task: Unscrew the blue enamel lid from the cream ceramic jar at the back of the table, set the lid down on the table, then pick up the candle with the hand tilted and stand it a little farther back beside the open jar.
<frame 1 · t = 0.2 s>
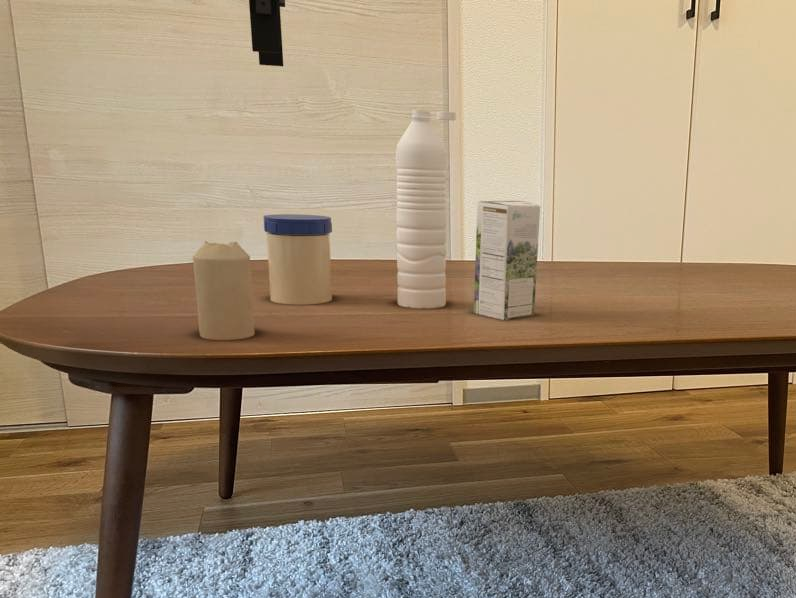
hand: (269, 59, 86), 29 cm above the table, tool pointing down, fingers open, 13 cm apart
lid: (297, 220, 102), point 11 cm above the table, screwed on, not yet turned
water bottle: (428, 306, 106), on the table
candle: (227, 338, 83), on the table
syrup box: (504, 317, 101), on the table
jar: (301, 300, 105), on the table
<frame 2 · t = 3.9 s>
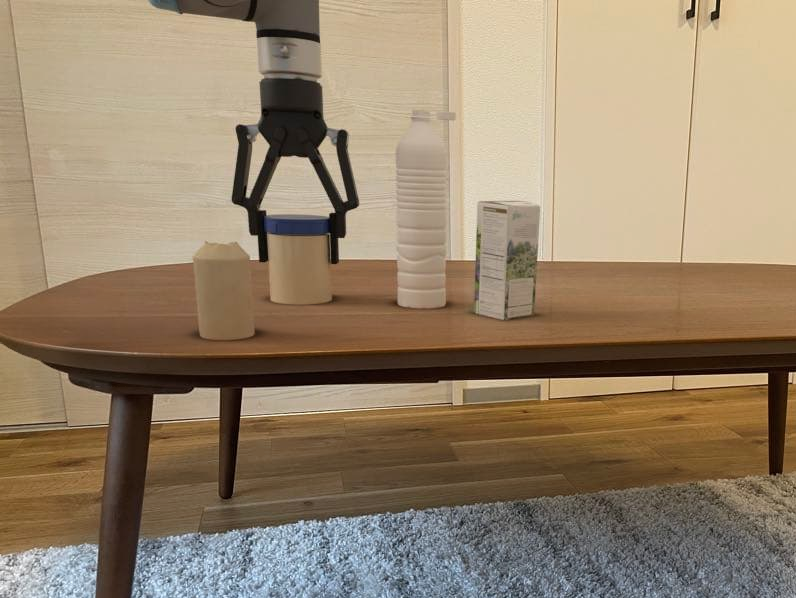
hand: (299, 261, 104), 5 cm above the table, tool pointing down, fingers closed on lid, 8 cm apart
lid: (297, 220, 102), point 11 cm above the table, screwed on, not yet turned, touching gripper
everything else where it was.
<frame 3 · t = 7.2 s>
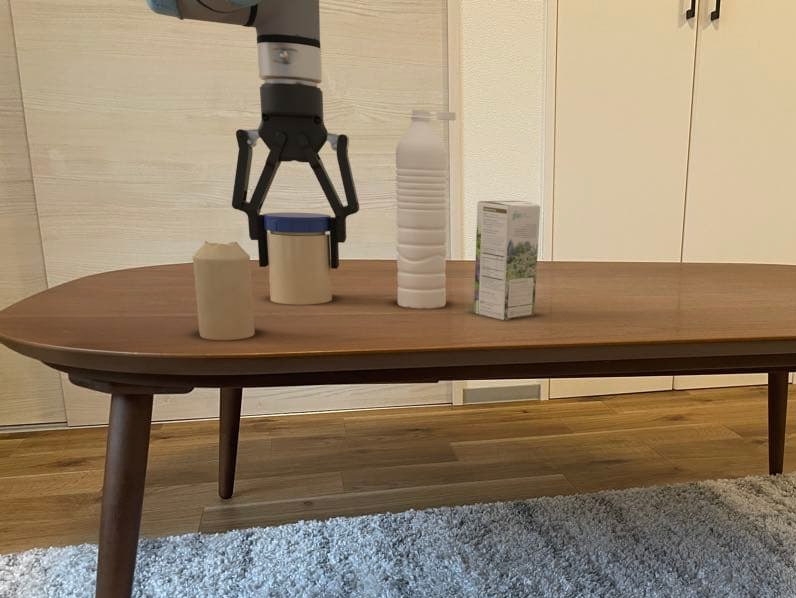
hand: (299, 266, 104), 5 cm above the table, tool pointing down, fingers closed on lid, 8 cm apart
lid: (297, 218, 102), point 11 cm above the table, turned 90° so far, risen 0.2 cm, still on its thread, touching gripper
everything else where it was.
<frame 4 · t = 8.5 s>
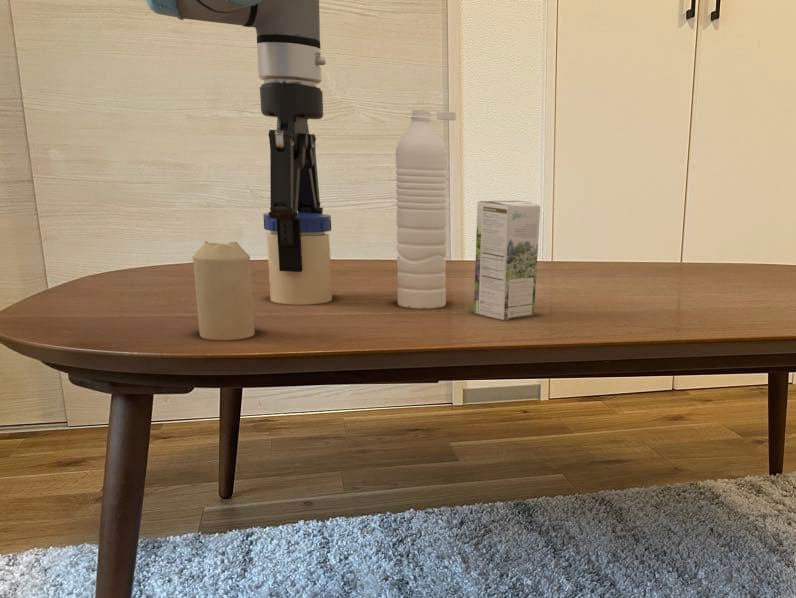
hand: (299, 266, 104), 5 cm above the table, tool pointing down, fingers closed on lid, 8 cm apart
lid: (297, 218, 102), point 11 cm above the table, off its thread, touching gripper
everything else where it was.
when the fingers open (2 cm above the table, at t = 15.5 s): lid drops 7 cm, point 1 cm above the table.
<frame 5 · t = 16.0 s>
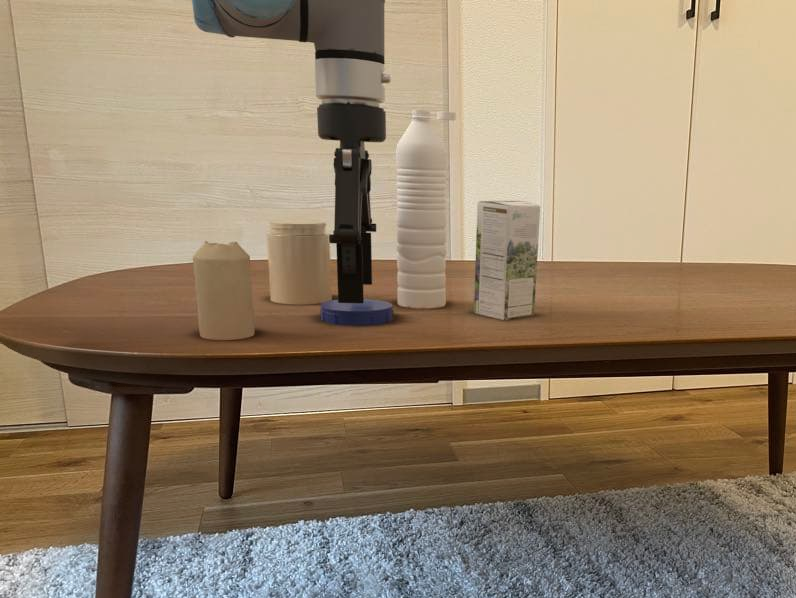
hand: (356, 293, 93), 3 cm above the table, tool pointing down, fingers open, 13 cm apart
lid: (357, 308, 94), point 1 cm above the table, off its thread
everything else where it was.
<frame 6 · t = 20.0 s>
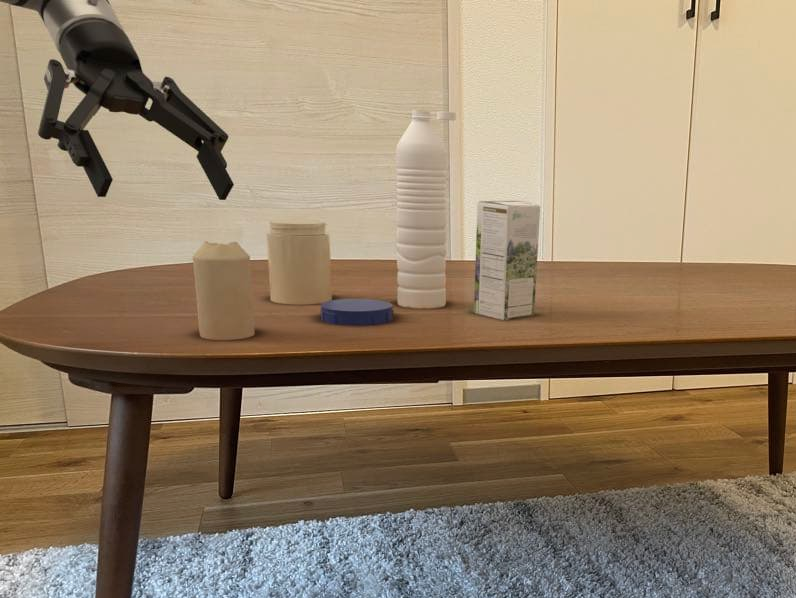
hand: (170, 190, 85), 15 cm above the table, tool tilted 45°, fingers open, 13 cm apart
nothing on the table moved.
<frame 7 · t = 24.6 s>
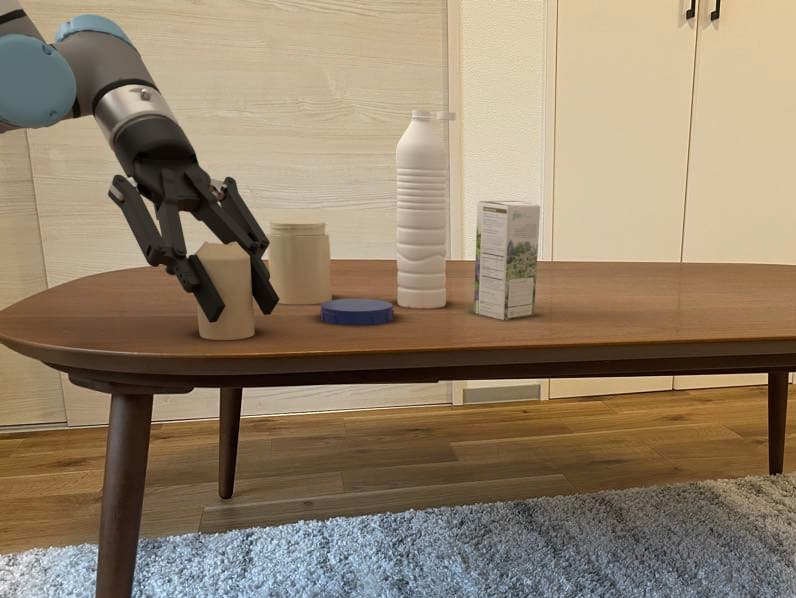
hand: (245, 310, 80), 3 cm above the table, tool tilted 45°, fingers closed on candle, 5 cm apart
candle: (227, 338, 83), on the table, touching gripper
everything else where it was.
when the fingers open (3 cm above the table, at t = 31.1 s): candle stays where it is, on the table.
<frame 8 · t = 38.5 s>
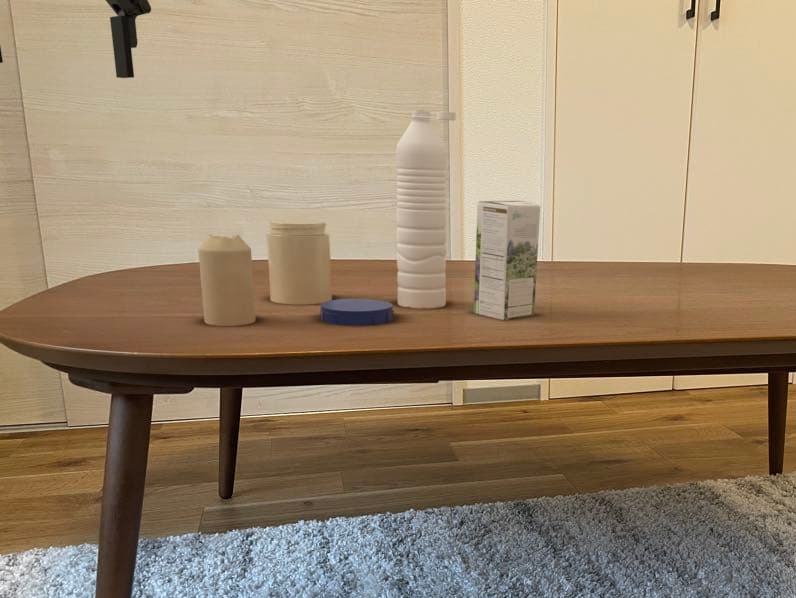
hand: (63, 71, 87), 27 cm above the table, tool pointing down, fingers open, 13 cm apart
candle: (230, 324, 90), on the table
everything else where it was.
at the end: lid inside the target area (0.0 cm from its centre), point 1.4 cm above the table; the gripper is holding nothing; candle inside the target area (0.1 cm from its centre), on the table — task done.
